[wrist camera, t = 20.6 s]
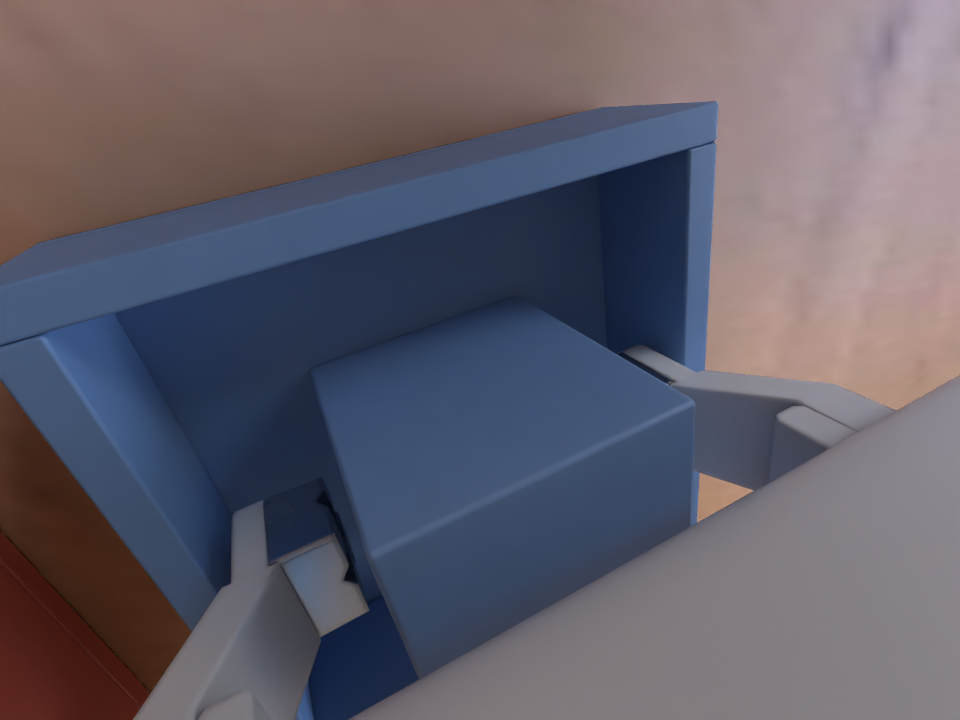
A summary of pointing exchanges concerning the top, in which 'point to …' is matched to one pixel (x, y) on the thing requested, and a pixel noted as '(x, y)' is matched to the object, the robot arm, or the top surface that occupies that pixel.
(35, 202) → the top surface
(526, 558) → the blue block
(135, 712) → the red tray
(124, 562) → the top surface
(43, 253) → the blue tray
